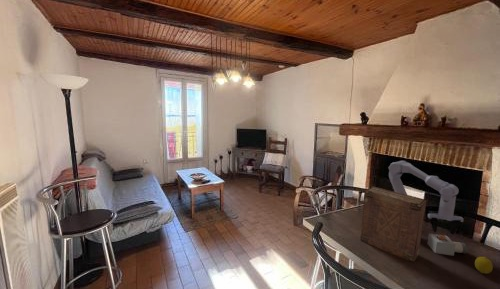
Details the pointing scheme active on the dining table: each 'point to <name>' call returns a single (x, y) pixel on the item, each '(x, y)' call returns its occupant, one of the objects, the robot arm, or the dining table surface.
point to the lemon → (483, 265)
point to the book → (393, 222)
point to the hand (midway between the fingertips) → (442, 232)
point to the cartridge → (460, 247)
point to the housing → (441, 245)
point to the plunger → (442, 237)
